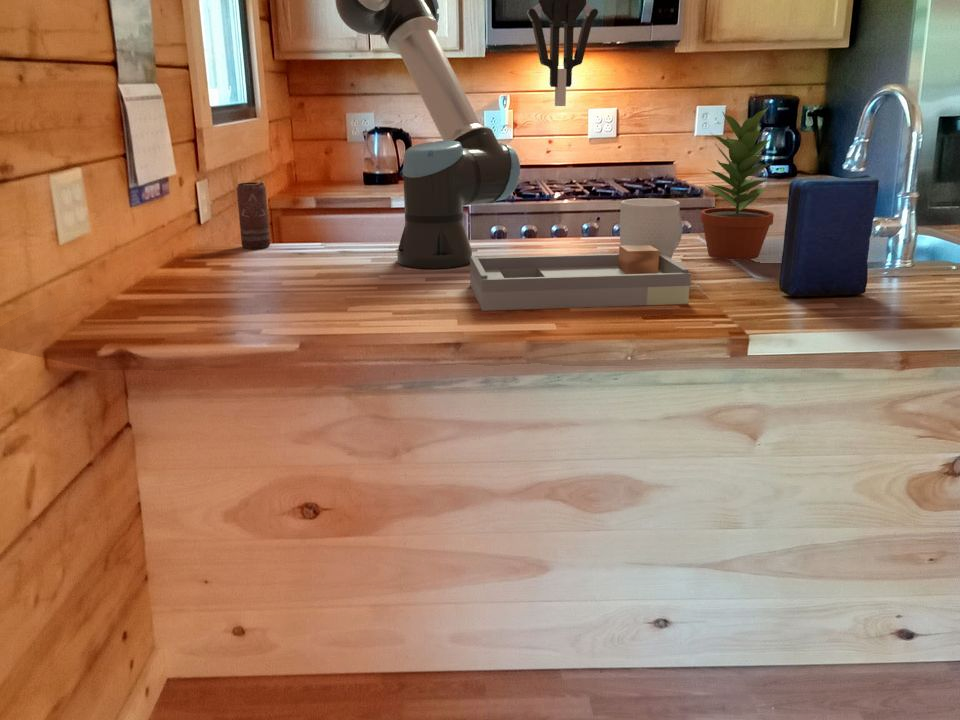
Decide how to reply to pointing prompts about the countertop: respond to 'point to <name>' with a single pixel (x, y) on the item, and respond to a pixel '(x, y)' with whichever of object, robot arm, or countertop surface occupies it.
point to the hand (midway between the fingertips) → (560, 105)
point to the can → (253, 215)
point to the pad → (668, 295)
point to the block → (638, 259)
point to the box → (565, 281)
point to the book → (828, 236)
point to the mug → (651, 224)
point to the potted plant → (738, 197)
